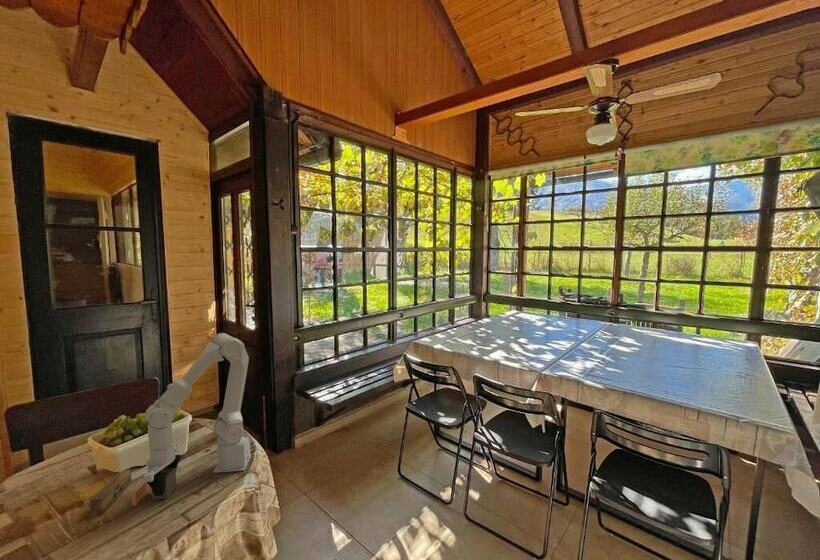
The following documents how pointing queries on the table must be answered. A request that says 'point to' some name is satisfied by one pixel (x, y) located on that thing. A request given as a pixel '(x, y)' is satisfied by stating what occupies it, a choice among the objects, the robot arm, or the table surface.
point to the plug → (167, 484)
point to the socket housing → (110, 492)
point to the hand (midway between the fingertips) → (164, 488)
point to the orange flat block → (139, 492)
